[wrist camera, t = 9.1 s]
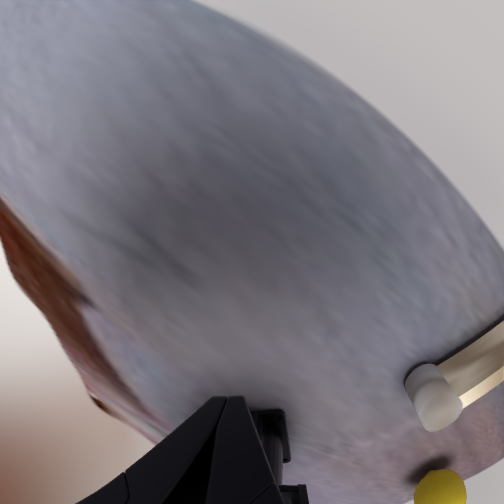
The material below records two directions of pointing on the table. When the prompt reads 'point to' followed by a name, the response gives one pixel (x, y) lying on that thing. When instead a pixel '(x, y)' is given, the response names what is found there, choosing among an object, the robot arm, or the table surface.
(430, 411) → the cream brown-tipped bar
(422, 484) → the lemon
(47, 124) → the table surface
